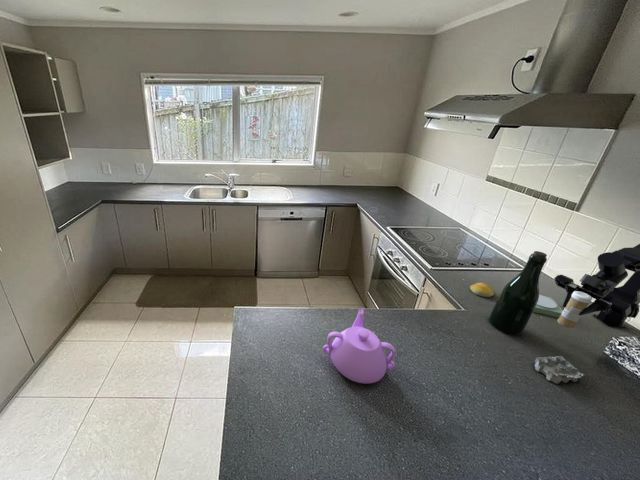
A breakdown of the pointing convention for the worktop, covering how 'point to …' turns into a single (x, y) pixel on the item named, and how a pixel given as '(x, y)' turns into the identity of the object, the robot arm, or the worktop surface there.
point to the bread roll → (482, 289)
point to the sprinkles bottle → (574, 309)
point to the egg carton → (557, 369)
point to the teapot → (359, 353)
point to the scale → (548, 307)
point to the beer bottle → (519, 297)
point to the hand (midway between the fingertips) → (571, 310)
